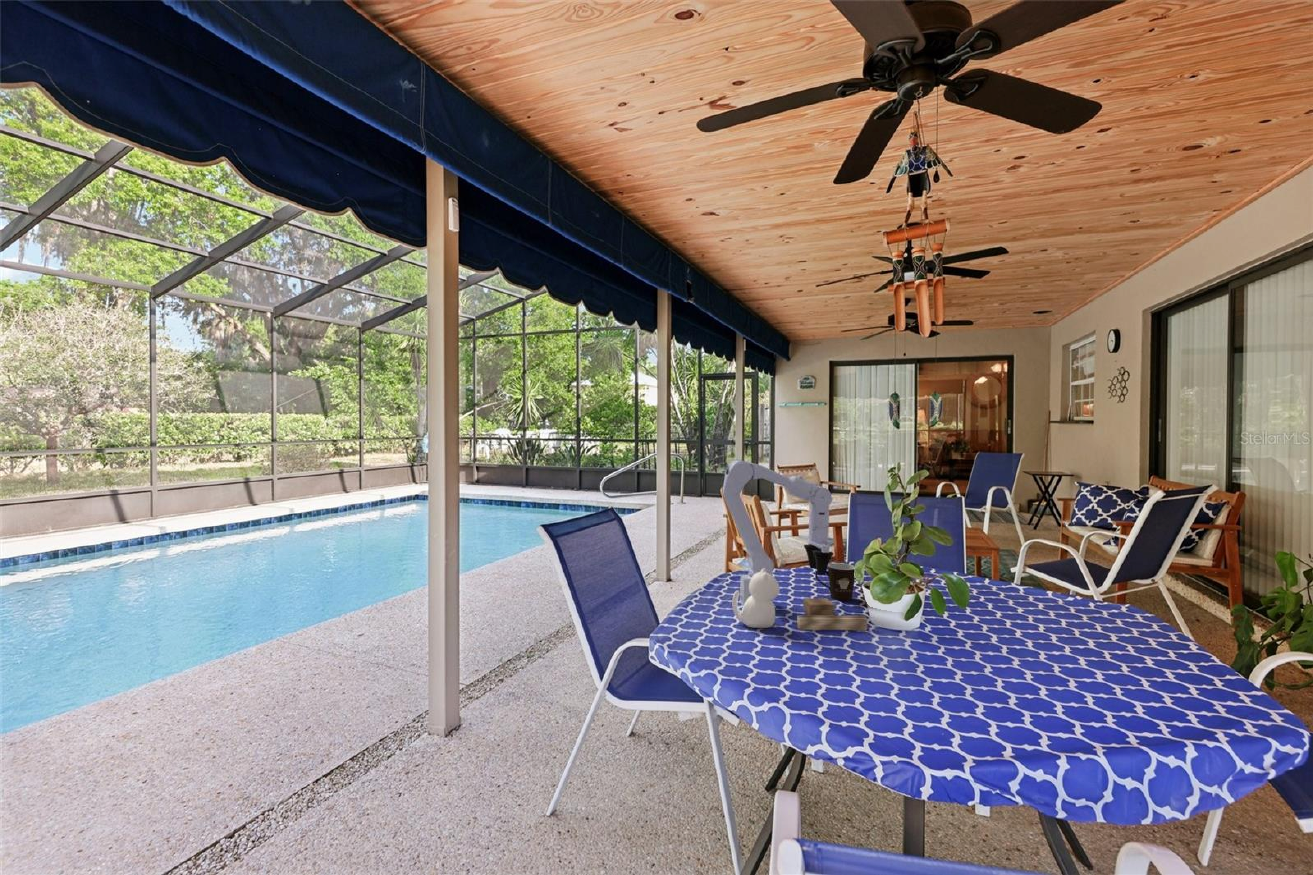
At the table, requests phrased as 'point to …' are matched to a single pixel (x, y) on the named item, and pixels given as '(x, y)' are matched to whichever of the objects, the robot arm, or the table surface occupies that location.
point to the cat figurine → (758, 601)
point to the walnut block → (818, 607)
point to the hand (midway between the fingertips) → (817, 571)
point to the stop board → (831, 622)
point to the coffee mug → (840, 581)
